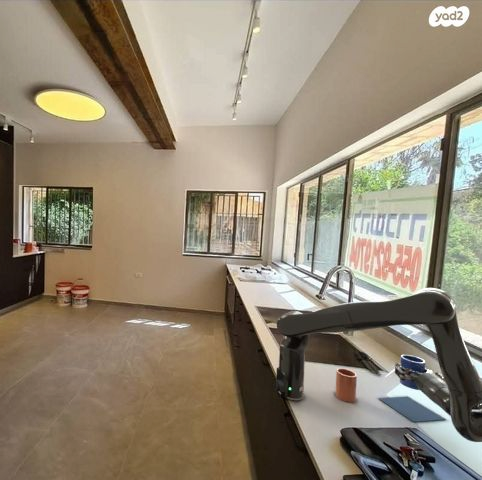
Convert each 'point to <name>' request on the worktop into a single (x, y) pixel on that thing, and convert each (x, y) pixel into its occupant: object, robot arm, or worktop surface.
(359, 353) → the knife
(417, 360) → the blue cup
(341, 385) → the terracotta cup
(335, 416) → the worktop surface
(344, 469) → the worktop surface
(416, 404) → the blue mat
